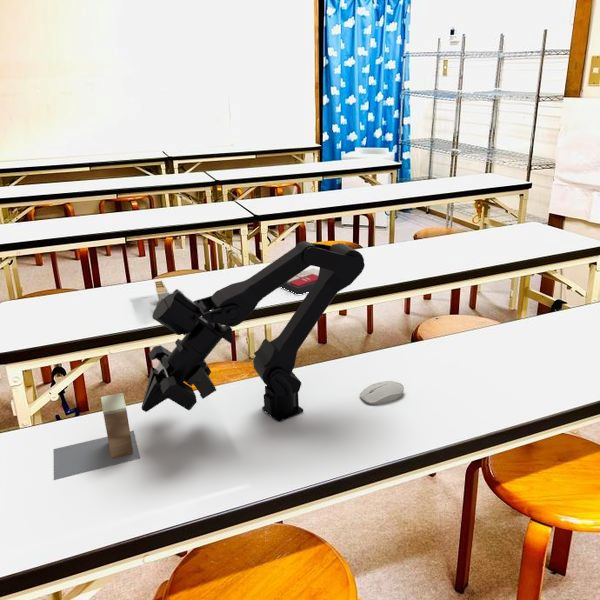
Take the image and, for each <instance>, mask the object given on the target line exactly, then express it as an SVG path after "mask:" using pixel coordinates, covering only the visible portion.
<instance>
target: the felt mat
mask: <svg viewBox="0 0 600 600" xmlns="http://www.w3.org/2000/svg"><path fill="white" fill-rule="evenodd" d="M130 434H131V441H132V447H133V453H134V454H130V455H126V456H122V457H118V458H114V459H111V453H110V448H109V442H108V436H104V437H100V438H94V439H91V440H86V441H83V442H78V443H75V444H69V445H66V446H62V447H61V446H60V447H56V448H53V481H56V480H60V479H64V478H68V477H72V476H75V475H79V474H84V473H87V472H91V471H97V470H101V469H103V468H108V467H112V466H116V465H119V464H124V463H128V462H133V461H135V460H136V461H137V460H140V459H141V456H140V452H139V448H138V447H139V446H138V443H137V440H136V435H135V430H130Z"/></svg>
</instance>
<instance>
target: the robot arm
mask: <svg viewBox="0 0 600 600" xmlns="http://www.w3.org/2000/svg"><path fill="white" fill-rule="evenodd" d="M365 265H366V264H365V258H364V255H363V254H362V253H360V252H359V251H358V250H356V249H354V248H353V247H351V246H349V245H347V244H344V243H340V242H338V243H334V244H333V243H332V245H329V244H325V243H315V242H313V243H312V242H309V241H308V240H307V241H306V240H305V241H300V242H298V243H297V244H296V245H295V246H294V247H292V248H291V249H290V250H288V251H287V252H286V253H284V254H283V255H281V256H280V257H278V258H277V259H275V260H274V261H272V262H270V263H269V264H268V265H267V266H265V267H263V268H262V269H261V270H259V271H258V272H257V273H255V274H253V275H252V276H250V277H249V278H247V279H245V280H243V281H238V282H235V283H231V284H229V285H226V286H224V287H222V288H221V289H218V290H216V291H215V292H214V293H213V294H212V295H209V296H206V297H202V298H199V299H196V300H191V299H190V298H189V297H187V296H186V295H184V293H183V292H182V291H180V290H179V289H176V288H175V290H174V291H173V292H172V293H169V295H167V296H166V297H165V298H164V299H162V300H161V301H160V302H159V301H158V303H157V305H156V307H155V308H154V311H153V313H152V319H153V320H155V321H156V322H158V323H159V324H160V325H163V327H165V328H167V329H169V331H170V332H172V333H174V334H175V335H177V336H180V335H183V338H182V339H180V338H177V339H176V341H175V342H174V343H175V348H174V349H173V350H172V351H170V350H168V349H167V348H166V347H164V346H162V345H161V344H160V345H156V346H153V347H152V349H150V351H149V352H148V356H149V359H150V360H151V361H154V360H158V363H159V364H158V365H157V366H156V367H153V366H151V368H150V374H149V378H148V382H147V385H146V390H145V394H144V397H143V401H142V404H141V410H142V411H143V412H145V413H147V412H149V411H151V410H152V409H153V408H155V407H156V406H158V405H159V404H161V403H162V402H164V401H167V399H169V400H171V402H173V403H175V404H177V405H179V406H180V407H182V408H184V409H186V410H187V411H190V410H192V408H193V407H194V406H195V405H196V404H197V401H198V400H197V395H196V394H195V391H194V389H193V387H192V386H194V387H195V389H196V390H197V392H198V393H199V396H200V397H201V399H203V400H204V399H205V398H207V397H208V396H209V395H212V394H213V393H214V392H216V391H217V388H216V386H215V384H214V382H213V381H212V379H211V377H210V375H211V373H212V370H211V369H210V367H209V365H208V364H207V362H206V359H207V357H208V356H209V355H210V354H211V352H213V350H214V349H215V348H216V346H218V344H219V343H220V342H221V341H222V339H224V340H225V341H227V343H229V344H233V343H234V339H233V327H237V326H239V325H241V324H242V323H243V322H244V321H245V320H246V319H247V318H248V317H249V316H250V315H251V314H252V313H253V312H254V311H255V309H256V307H257V306H258V304H259V303H260V302H261V301H262V300H263V299H264V298H266V297H267V296H268V295H271V293H273V292H274V291H276V290H277V289H279V288H280V286H282V285H283V284H284V283H286V282H287V281H289V280H290V279H292V278H293V277H295V276H296V275H298V274H299V273H300V272H302V271H306V270H307V268H309V267H317V268H319V269H318V270H319V275H318V279H317V281H316V282H315V284H314V285H313V287H312V288H311V290H310V291H309V293H306V295H305V297H304V298H303V300H301V301H302V302H301V303H300V305H299V306H298V307H297V309H296V310H295V312H294V313H293V315H292V316H291V317H290V320H289V321H287V324H286V325H285V326H284V328H283V330H282V331H281V332H280V334H279V335H278V336H277V337H275V338H274V339H272V340H269V339H268V338H264V339H263V341H262V342H261V345H260V347H258V349H257V350H256V351H255V352H253V354H254V359H253V361H252V365H253V369H254V371H255V372H256V374H257V375H258V376H259V378H260V379H261V380H262V382H263V383H264V385H265V386H264V394H263V406H262V407H261V408H262V411H263V412H264V413H266V414H268V416H270V417H271V418H272V419H274V420H275V421H276V422H280V423H281V422H282V421H285V420H287V419H289V418H292V417H294V416H296V415H300V414H302V413H304V408H302V407H301V406H300V404H299V403H300V402H299V392H300V389H301V387H302V381H300V379H299V378H298V377H297V375H296V374H295V373H294V371H293V370H294V369H295V366H296V361H297V355H298V352H299V350H300V348H301V346H302V345H303V343H305V340H306V339H307V337H308V336H309V334H310V333H311V332H312V331H313V329H314V327H315V326H316V325H317V322H319V320H320V319H321V317H322V315H323V314H324V313H325V311H326V309H327V308H329V305H331V303H332V301H333V300H334V298H335V297H336V295H337V294H338V293H339V292H340V291H342V290H344V289H346V288H347V287H349V286H350V285H352V283H353V282H354V281H356V280H357V279H358V277H359V276H360V275H361V274H362V272H363V271H364V268H365Z"/></svg>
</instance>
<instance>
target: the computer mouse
mask: <svg viewBox="0 0 600 600" xmlns="http://www.w3.org/2000/svg"><path fill="white" fill-rule="evenodd" d="M404 391H405V387H404V385H403V384H402V383H400V382H399V381H393V380H386V381H384V380H383V381H379V382H376V383H375V382H374V383H371V384H370V385H368V386H367V387H366V388H364V389H363V390H362V391H361V392H360V393H359V396H360V398H361V399H362V401H364V402H365V403H366V404H370V405H380V404H381V405H382V404H386V403H390V402H393V401H395V400H397V399H398V398H400V396H402V395H403V392H404Z"/></svg>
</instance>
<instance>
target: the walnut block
mask: <svg viewBox="0 0 600 600" xmlns="http://www.w3.org/2000/svg"><path fill="white" fill-rule="evenodd" d="M100 400H101V401H100V402H101V407H102V413H103V419H104V420H103V421H104V426H105V429H106V430H105V431H106V434H107V435H106V437H108V442H109V448H110V453H111V459H114V458H118V457H122V456H126V455H130V454H134V453H133V447H132V441H131V434H130V431H131V429H130V424H129V417H128V410H127V405H126V401H125V397H124V393H123V392H119V393H112V394H109V395H105V396H100Z"/></svg>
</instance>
